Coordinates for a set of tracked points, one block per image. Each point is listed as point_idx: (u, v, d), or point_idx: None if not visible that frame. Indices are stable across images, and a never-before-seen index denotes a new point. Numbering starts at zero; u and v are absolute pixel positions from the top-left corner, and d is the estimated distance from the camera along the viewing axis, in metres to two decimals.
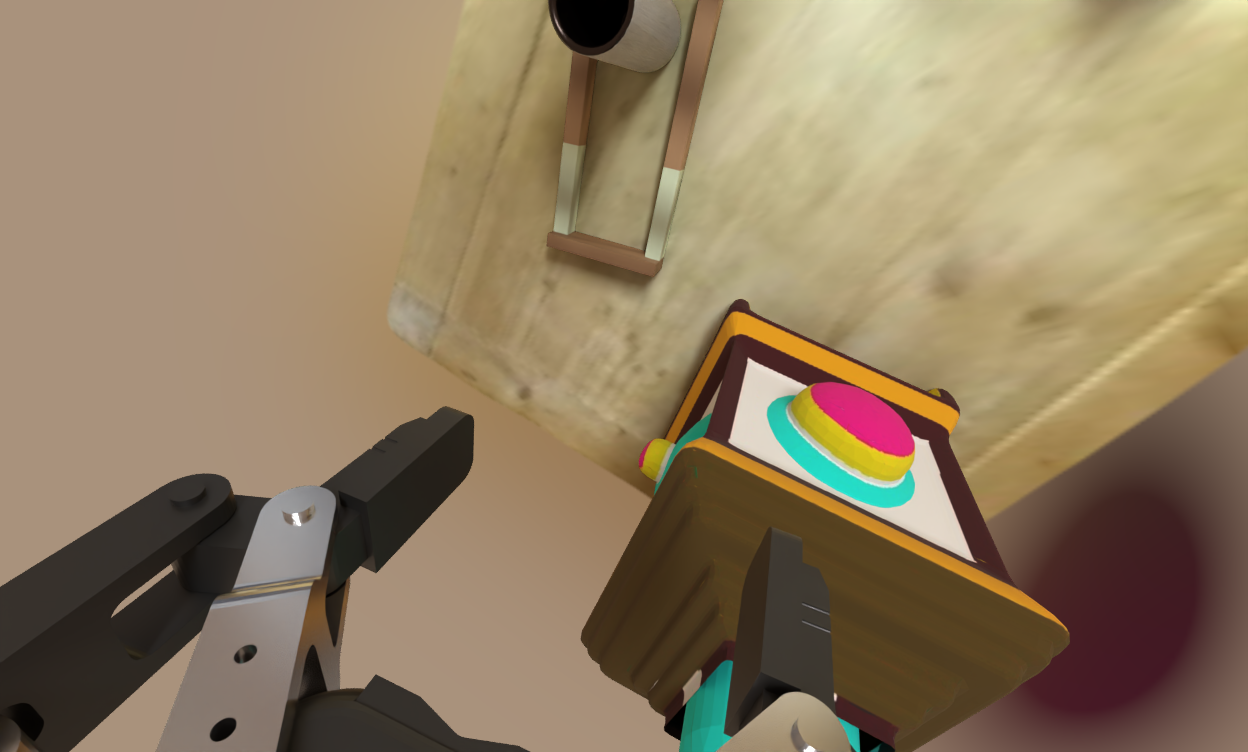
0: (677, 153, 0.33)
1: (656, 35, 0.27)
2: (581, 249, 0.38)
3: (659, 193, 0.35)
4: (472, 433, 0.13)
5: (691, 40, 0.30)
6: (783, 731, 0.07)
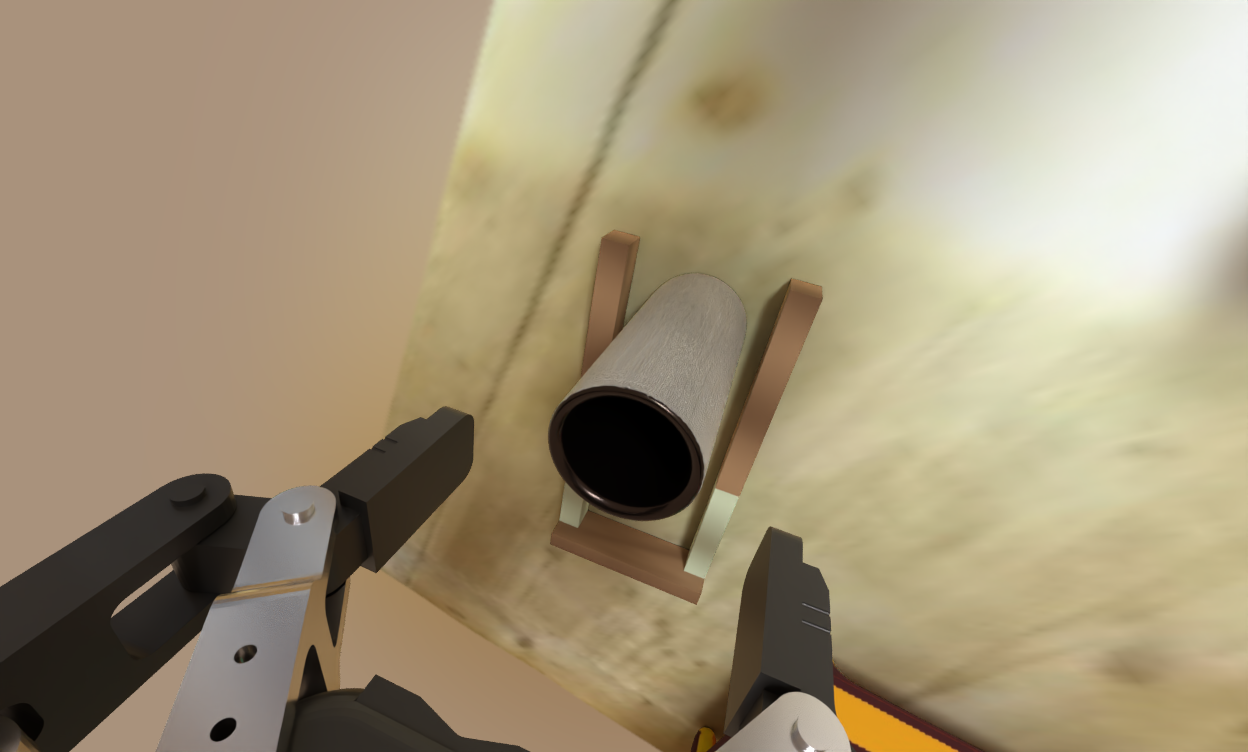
0: (736, 478, 0.23)
1: None
2: (598, 557, 0.28)
3: (707, 513, 0.25)
4: (472, 433, 0.13)
5: (766, 360, 0.20)
6: (783, 731, 0.07)
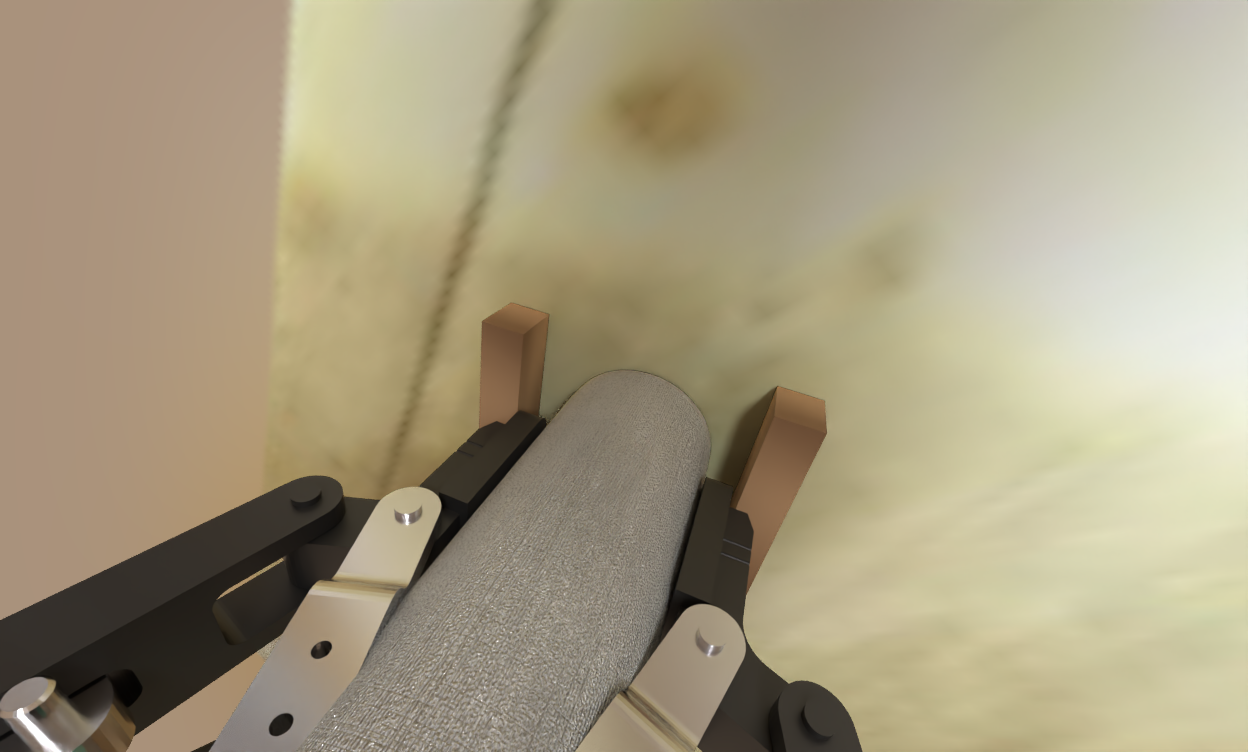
0: None
1: None
2: None
3: None
4: None
5: None
6: (689, 641, 0.08)
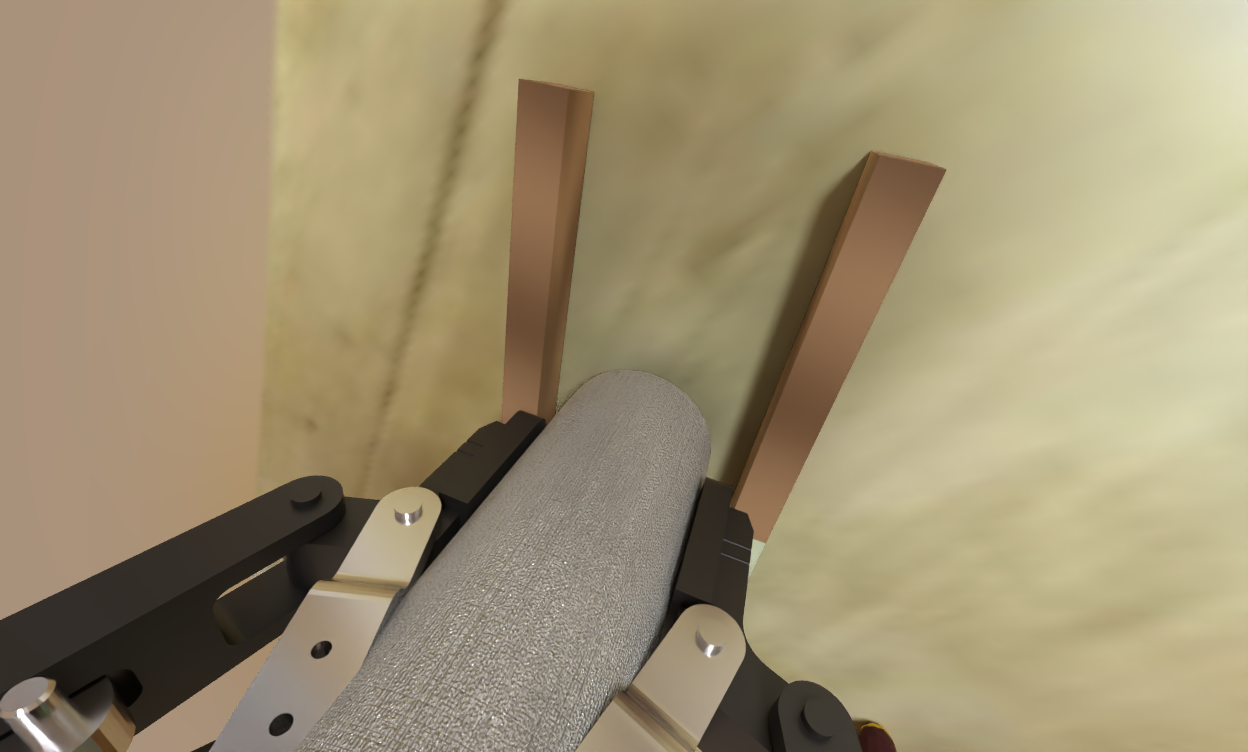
0: (761, 514, 0.14)
1: None
2: None
3: None
4: None
5: (822, 304, 0.11)
6: (689, 641, 0.08)
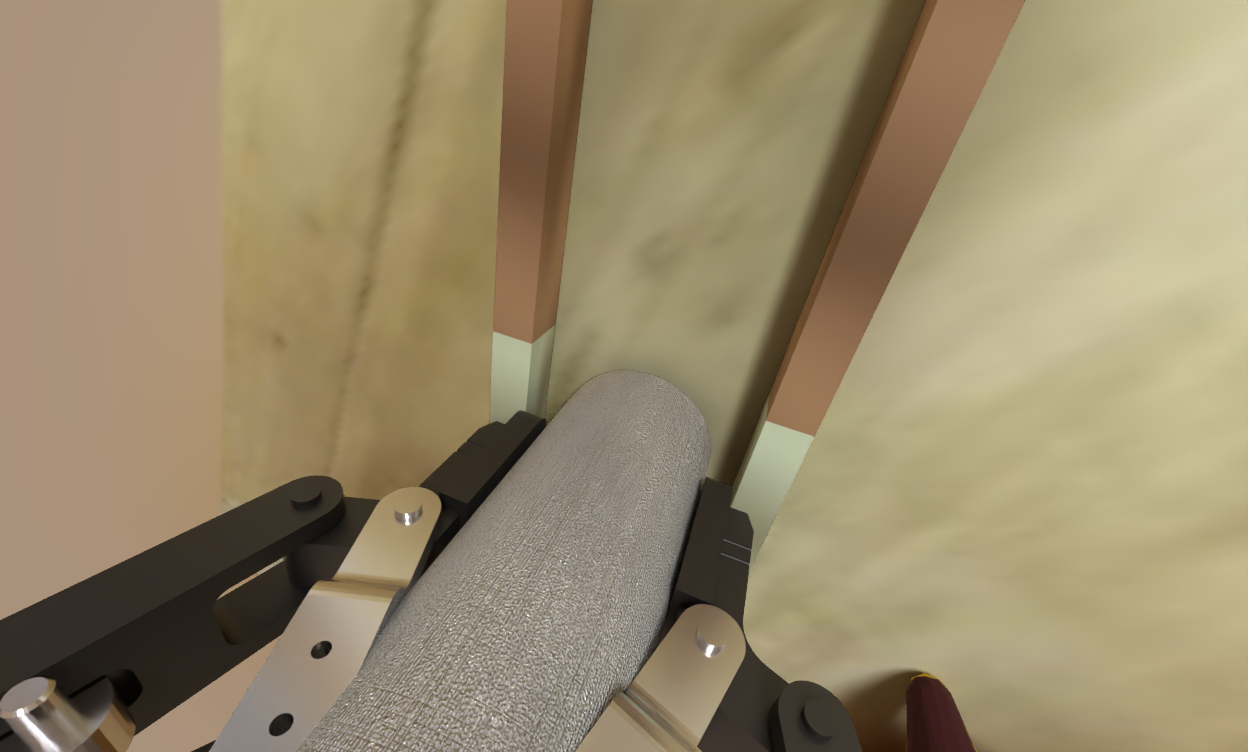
0: (811, 397, 0.11)
1: None
2: None
3: (748, 474, 0.13)
4: None
5: (911, 78, 0.08)
6: (689, 641, 0.08)
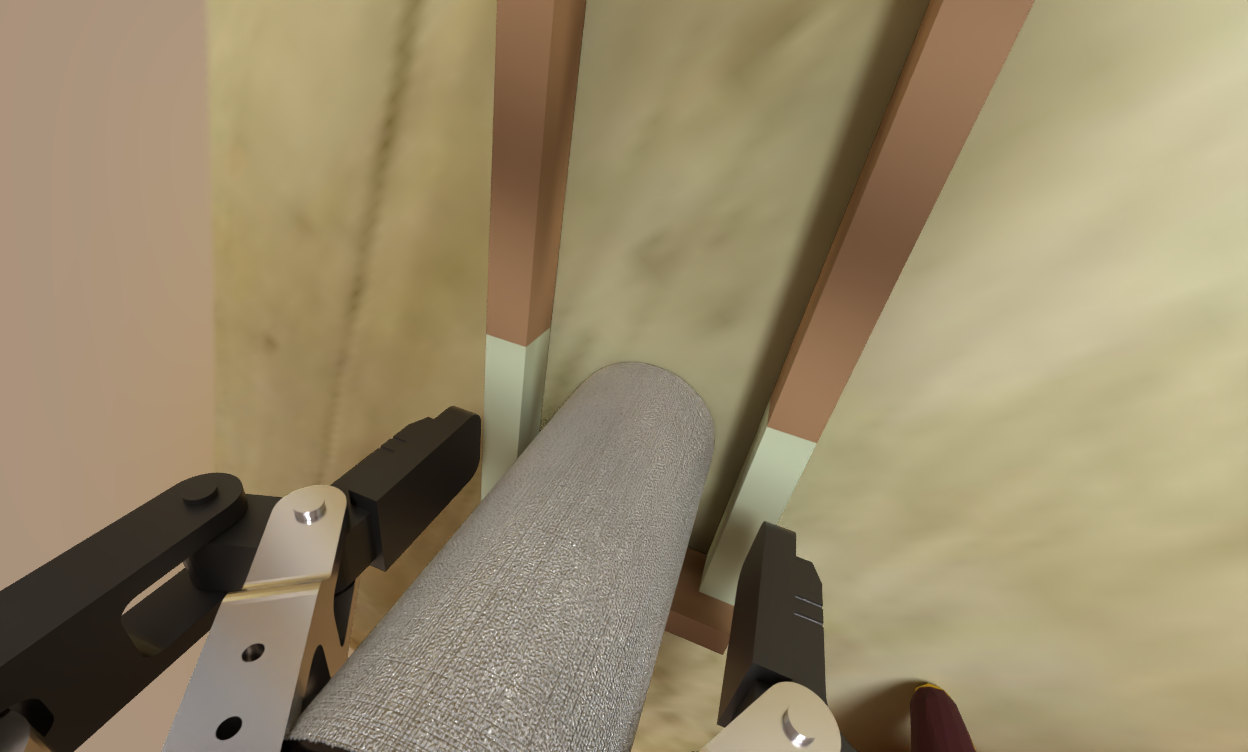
0: (813, 403, 0.11)
1: None
2: None
3: (748, 481, 0.13)
4: (479, 433, 0.13)
5: (920, 71, 0.08)
6: (774, 720, 0.07)
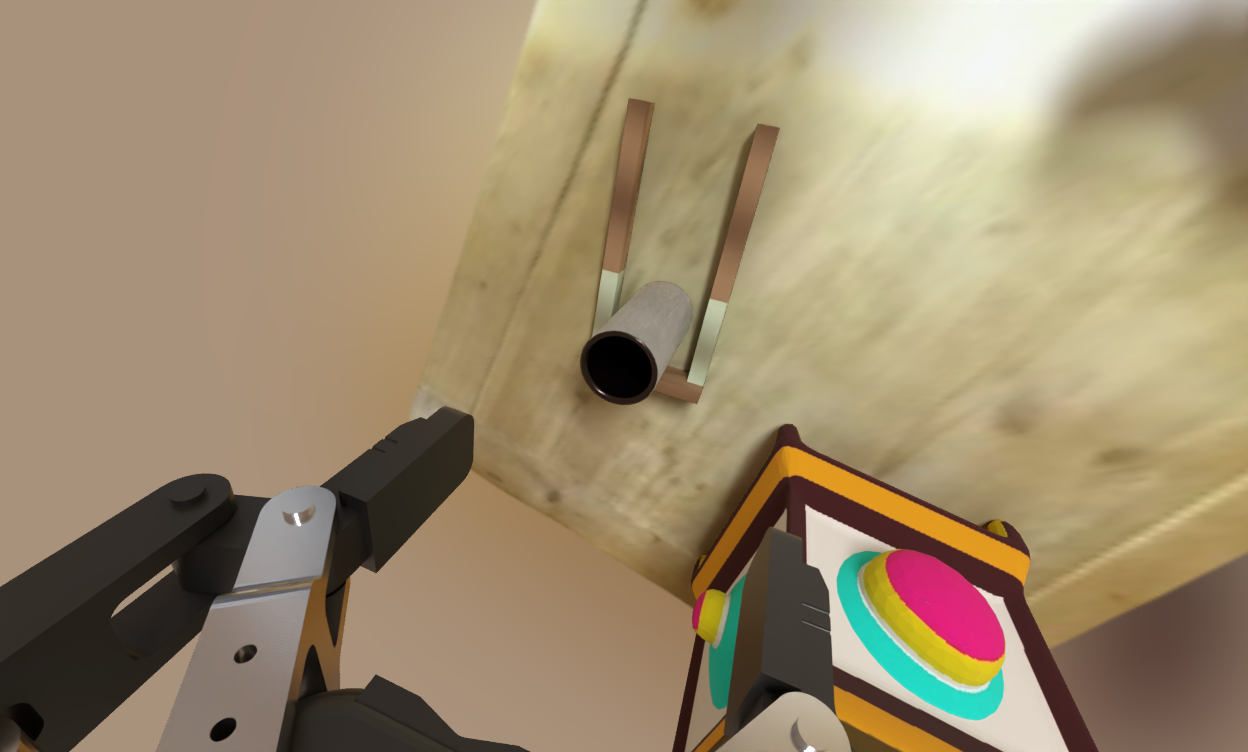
0: (724, 287, 0.32)
1: None
2: None
3: (704, 323, 0.33)
4: (472, 433, 0.13)
5: (743, 181, 0.29)
6: (783, 731, 0.07)
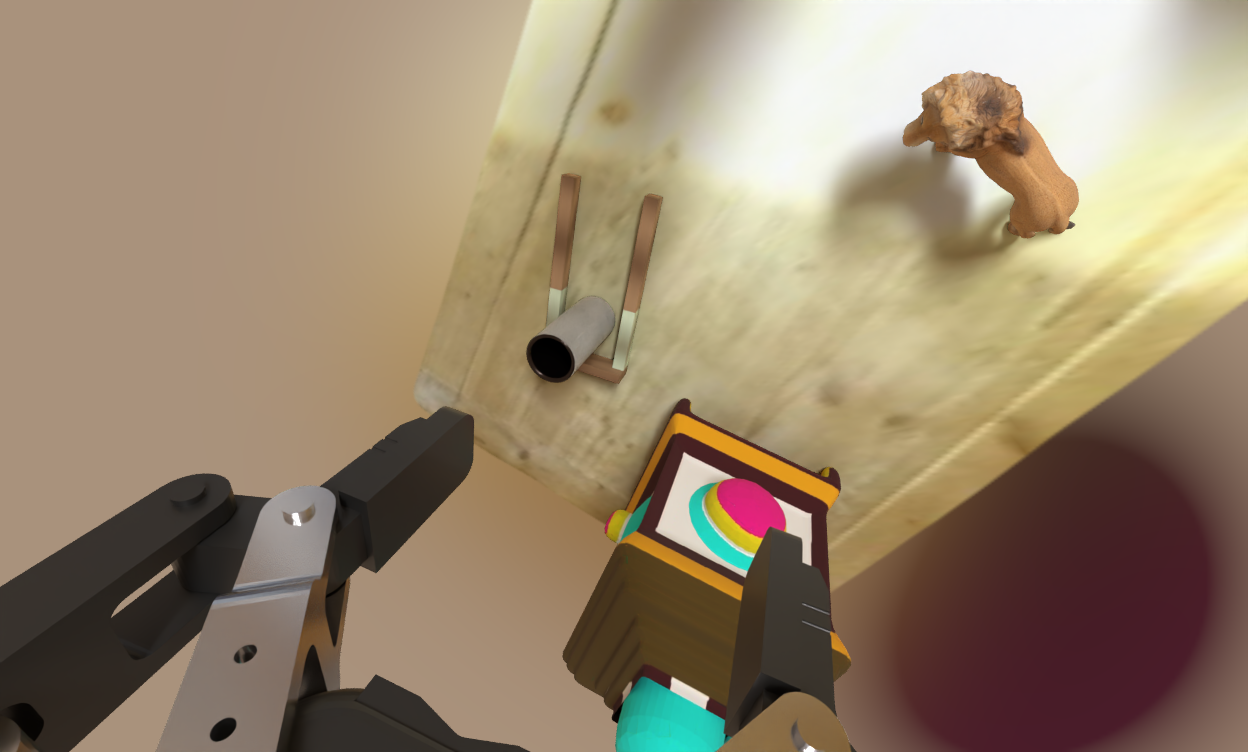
0: (632, 302, 0.46)
1: (594, 349, 0.45)
2: None
3: (621, 326, 0.47)
4: (472, 433, 0.13)
5: (638, 232, 0.42)
6: (783, 731, 0.07)
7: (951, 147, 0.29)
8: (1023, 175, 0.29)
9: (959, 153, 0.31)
